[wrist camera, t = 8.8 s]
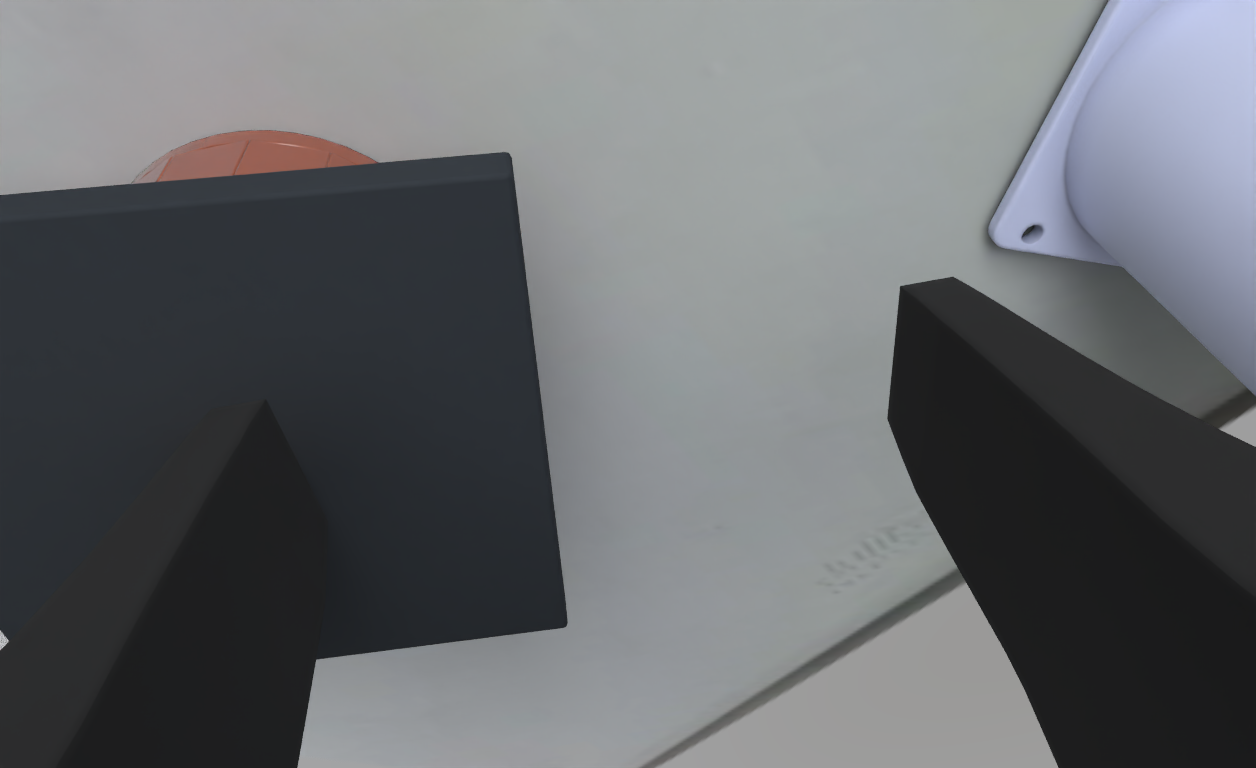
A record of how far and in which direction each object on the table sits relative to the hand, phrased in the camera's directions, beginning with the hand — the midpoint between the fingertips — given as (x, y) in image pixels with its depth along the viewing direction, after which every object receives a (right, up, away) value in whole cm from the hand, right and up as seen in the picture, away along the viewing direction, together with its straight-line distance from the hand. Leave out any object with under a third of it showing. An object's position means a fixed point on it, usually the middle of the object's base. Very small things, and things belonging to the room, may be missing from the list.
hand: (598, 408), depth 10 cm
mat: (-7, -1, +6) cm, 9 cm away
